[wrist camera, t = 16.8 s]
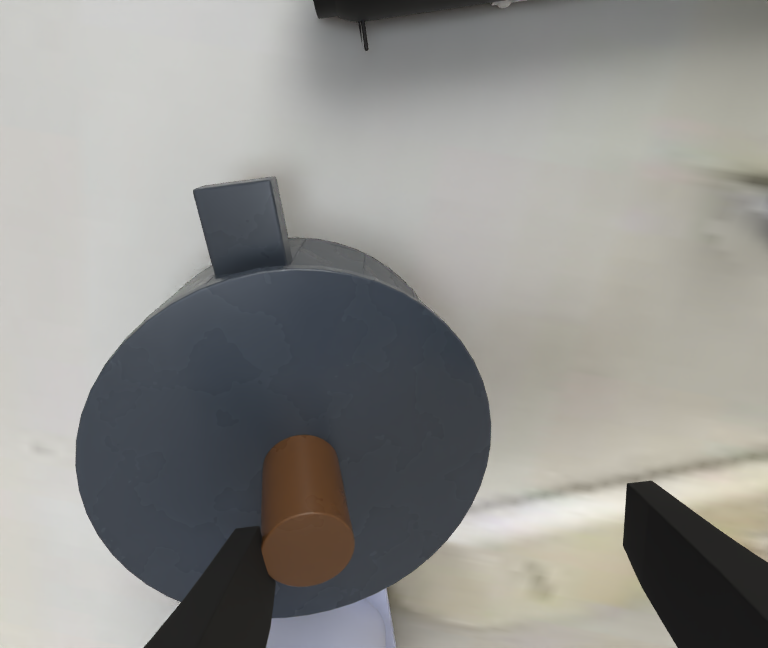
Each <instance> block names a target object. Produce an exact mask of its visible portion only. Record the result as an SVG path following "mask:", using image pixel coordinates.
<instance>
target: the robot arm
mask: <svg viewBox="0 0 768 648" xmlns="http://www.w3.org/2000/svg"><path fill="white" fill-rule="evenodd" d="M261 543H262V535H261V531H260V528H259V526H253V527H244V528H236V529H235V530H234V531H233V532H232V534H231V535H230V537H229V538H228V539H227V541H226V542H225V543H224V545H223V546H222V548H221V549H220V550H219V552H218V553H217V555H216V556H215V557H214V559H213V560H212V562H211V563H210V564H209V566H208V567H207V568H206V570H205V571H204V573H203V574H202V575H201V577H200V578H199V579H198V581H197V582H196V583H195V585H194V586H193V587H192V589H191V590H190V591H189V593H188V594H187V595H186V597H185V598H184V599H183V600H182V602H181V603H180V604H179V606H178V607H177V608H176V609H175V611H174V612H173V613H172V614H171V615H170V617H169V618H168V619H167V620H166V622H165V623H164V624H163V625H162V626H161V628H160V629H159V630H158V631H157V632H156V634H155V635H154V636H153V637H152V638H151V640H150V641H149V642H148V643H147V644H146V645H145V646H144V648H397V647H396V641H395V635H394V629H393V623H392V617H391V611H390V605H389V600H388V594H387V588H385V589H383V590H382V591H380V592H378V593H376V594H374V595H372V596H369V597H367V598H365V599H362V600H360V601H357V602H355V603H352V604H349V605H346V606H343V607H340V608H337V609H333V610H330V611H325V612H321V613H316V614H311V615H305V616H297V617H289V618H272V613H273V605H274V596H275V586H276V583H275V580H274V579H273V578H272V577H270V576H269V575H268V572H267V569H266V565H265V562H264V558H263V555H262V551H261ZM623 546H624V549H625V551H626V553H627V556H628V558H629V560H630V562H631V565H632V567H633V569H634V571H635V574H636V576H637V578H638V580H639V582H640V584H641V586H642V588H643V590H644V592H645V593H646V595H647V597H648V598H649V600H650V602H651V604H652V605H653V607H654V609H655V610H656V612H657V614H658V615H659V617H660V619H661V621H662V622H663V624H664V626H665V627H666V629H667V631H668V632H669V634H670V636H671V637H672V639H673V641H674V642H675V644H676V646H677V647H678V648H768V562H766V561H765V560H763V559H761V558H760V557H758V556H757V555H755V554H754V553H752V552H751V551H749V550H748V549H746V548H745V547H743V546H742V545H740V544H739V543H737V542H736V541H734V540H733V539H732V538H730V537H729V536H727V535H726V534H724V533H723V532H721V531H720V530H719V529H717V528H716V527H714V526H713V525H712V524H710V523H709V522H707V521H706V520H705V519H703V518H702V517H701V516H699V515H698V514H696V513H695V512H694V511H692V510H691V509H690V508H688V507H687V506H686V505H684V504H683V503H681V502H680V501H679V500H677V499H676V498H675V497H673V496H672V495H671V494H669V493H668V492H667V491H665V490H664V489H662V488H661V487H660V486H658V485H657V484H656V483H654V482H653V481H645V482H636V483H627V491H626V506H625V522H624V537H623Z"/></svg>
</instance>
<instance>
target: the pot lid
mask: <svg viewBox="0 0 768 648" xmlns="http://www.w3.org/2000/svg"><path fill="white" fill-rule="evenodd" d="M490 440H491V419H490V410H489V402H488V398H487V394H486V391H485V387H484V383H483V380H482V378H481V376H480V373H479V371H478V369H477V367H476V364H475V362H474V360H473V359H472V357H471V355H470V354H469V352H468V351H467V349H466V348H465V346H464V345H463V343H462V341H461V340H460V339H459V338H458V337H457V336H456V335H455V333H454V332H453V331H452V330H451V329H450V328H449V327H448V325H447V324H446V323H445V322H444V321H443V320H442V319H441V318H440V317H439V316H437V315H436V314H435V313H434V312H433V311H432V310H430V309H429V308H428V307H427V306H426V305H425V304H423V303H422V302H420V301H419V300H417V299H416V298H414V297H412V296H411V295H409V294H408V293H406V292H404V291H403V290H401V289H399V288H397V287H395V286H392V285H390V284H388V283H386V282H383V281H381V280H379V279H377V278H374V277H370V276H367V275H363V274H360V273H357V272H353V271H350V270H344V269H338V268H331V267H325V266H311V265H284V266H274V267H263V268H257V269H253V270H248V271H244V272H239V273H235V274H231V275H228V276H225V277H222V278H219V279H217V280H214V281H211V282H208V283H206V284H203V285H200V286H198V287H196V288H194V289H192V290H191V291H189V292H187V293H185V294H183V295H181V296H179V297H177V298H175V299H173V300H172V301H170V302H169V303H168V304H166V305H165V306H163V307H162V308H160V309H159V310H158V311H156V312H155V313H153V314H152V315H150V316H149V317H148V318H147V319H146V320H145V321H144V322H142V323H141V324H140V325H139V326H138V327H137V328H136V329H135V330H134V331H133V332H132V333H131V334H130V335H129V336H127V337H126V339H125V340H124V341H123V342H122V344H121V345H120V346H119V347H118V349H117V350H116V351H115V353H114V354H113V355H112V356H111V358H110V359H109V360H108V361H107V363H106V364H105V366H104V367H103V369H102V371H101V373H100V374H99V376H98V378H97V380H96V381H95V383H94V385H93V387H92V388H91V390H90V393H89V396H88V398H87V401H86V403H85V406H84V409H83V411H82V414H81V418H80V423H79V428H78V433H77V439H76V465H75V466H76V473H77V479H78V486H79V492H80V495H81V498H82V501H83V504H84V507H85V510H86V513H87V515H88V517H89V519H90V521H91V523H92V525H93V527H94V529H95V531H96V532H97V534H98V536H99V537H100V539H101V540H102V541H103V543H104V544H105V545H106V547H107V548H108V549H109V551H110V552H111V553H112V555H113V556H114V557H115V558H116V559H117V560H118V561H119V562H120V563H121V564H122V565H123V566H124V567H125V568H126V569H127V570H128V571H130V572H131V573H132V574H134V575H135V576H136V577H138V578H139V579H140V580H142V581H143V582H144V583H146V584H147V585H149V586H150V587H152V588H154V589H156V590H157V591H159V592H161V593H163V594H164V595H166V596H168V597H170V598H173V599H175V600H177V601H180V602H182V600H183V599H184V598H185V597H186V595H187V594H188V593H189V591H190V590H191V589H192V587H193V586H194V585H195V583H196V582H197V581H198V579H199V578H200V577H201V575H202V574H203V573H204V571H205V570H206V568H207V567H208V566H209V564H210V563H211V562H212V560H213V559H214V557H215V556H216V555H217V553H218V552H219V550H220V549H221V548H222V546H223V545H224V543H225V542H226V541H227V539H228V538H229V537H230V535H231V534H232V532H233V531H234V530H235V529H236V528H244V527H253V526H259V528H260V531H261V535H262V543H261V551H262V555H263V558H264V562H265V565H266V569H267V572H268V575H269V576H270V577H272V578H273V579H274V580H275V583H276V586H275V596H274V605H273V613H272V618H289V617H297V616H305V615H311V614H316V613H321V612H325V611H330V610H333V609H337V608H340V607H343V606H346V605H349V604H352V603H355V602H357V601H360V600H362V599H365V598H367V597H369V596H372V595H374V594H376V593H378V592H380V591H382V590H383V589H385V588H387V587H389V586H391V585H393V584H395V583H396V582H398V581H399V580H401V579H402V578H404V577H405V576H407V575H408V574H410V573H411V572H413V571H414V570H415V569H417V568H418V567H419V566H420V565H421V564H423V563H424V562H425V561H426V560H427V559H429V558H430V557H431V556H432V555H433V554H434V553H435V552H436V551H437V550H438V549H439V548H440V547H441V546H442V545H443V544H444V543H445V542H446V541H447V540H448V538H449V537H450V536H451V534H452V533H453V532H454V531H455V529H456V528H457V527H458V526H459V524H460V523H461V521H462V520H463V518H464V516H465V515H466V513H467V512H468V510H469V508H470V507H471V505H472V503H473V501H474V499H475V496H476V494H477V492H478V490H479V488H480V486H481V482H482V479H483V476H484V473H485V470H486V467H487V461H488V456H489V450H490Z"/></svg>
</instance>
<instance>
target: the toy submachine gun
mask: <svg viewBox="0 0 768 648" xmlns="http://www.w3.org/2000/svg"><path fill="white" fill-rule="evenodd" d="M313 1H314V5H315V9H316V13H317V16H318V18H319V19H320V18H327V17H333V16H338V17H340V18H342V19H345V20H348V21H353V22H358V23H359V29H360V35H361V25H362V33H363V41H364V48H365V51H368V42H367V34H366V26H365V21H370V20H376V19H383V18H390V17H397V16H403V15H410V14H417V13H424V12H430V11H437V10H444V9H451V8H457V7H464V6H471V5H478V4H485V3H491V5H497V6H498V7H500V8H506V7H508V6H509V5H510V4H511V3H512V2H518V1H525V0H313ZM360 22H361V25H360ZM361 41H362V36H361Z"/></svg>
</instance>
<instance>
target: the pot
mask: <svg viewBox="0 0 768 648" xmlns="http://www.w3.org/2000/svg"><path fill="white" fill-rule="evenodd" d="M193 194H194V198H195V201H196V205H197V209H198V213H199V217H200V221H201V224H202V228H203V232H204V236H205V240H206V244H207V247H208V251H209V255H210V259H211V263H212V266H211V267H209V268H207V269H206V270H204V271H202V272H201V273H199V274H197V275H196V276H195V277H194V278H193V279H192V280H190V281H189V282H188V283H187V284H186V285H185V286H183V287H182V288H181V289H180V290H179V291H177V292H176V293H175V294H174V295H173V296H172V297H170V298H169V299H168V300H167V301H166V302H164V303H163V304H162V305H161V306H160V307H159V308H157V309H156V310H155V311H154V312H153V313H155V312H156V311H158V310H159V309H160V308H162V307H163V306H165V305H166V304H168V303H169V302H170V301H172V300H173V299H175V298H177V297H179V296H181V295H183V294H185V293H187V292H189V291H191V290H192V289H194V288H196V287H198V286H200V285H203V284H206V283H208V282H211V281H214V280H217V279H219V278H222V277H225V276H228V275H231V274H235V273H239V272H244V271H248V270H253V269H257V268H263V267H274V266H284V265H311V266H325V267H331V268H338V269H344V270H350V271H353V272H357V273H360V274H363V275H367V276H370V277H374V278H377V279H379V280H381V281H383V282H386V283H388V284H390V285H392V286H395V287H397V288H399V289H401V290H403V291H404V292H406V293H408V294H409V295H411V296H412V297H414V298H416V299H417V300H419V299H418V297H417V296H416V294H415V292H414V290H413V289H412V288H411V287H409V286H408V285H407V284H406V283H405V282H404V281H403V280H402V279H401V278H400V277H399V276H398V275H397V274H395V273H394V272H393V271H392V270H391V269H390V268H388V267H387V266H385V265H384V264H382V263H381V262H379V261H378V260H376V259H374V258H373V257H371V256H369V255H367V254H365V253H363V252H360V251H358V250H356V249H354V248H351V247H348V246H345V245H342V244H339V243H335V242H330V241H325V240H320V239H310V238H288V234H287V229H286V224H285V219H284V214H283V209H282V204H281V199H280V194H279V189H278V184H277V179H276V177H266V178H258V179H251V180H243V181H236V182H228V183H221V184H213V185H205V186H202V187H199V188H196V189H194V190H193ZM419 301H420V300H419ZM153 313H152V314H153ZM152 314H150V315H152ZM150 315H149V316H150ZM149 316H148V317H149ZM148 317H147V318H148ZM147 318H146V319H147ZM146 319H145V320H146ZM145 320H144V321H145ZM144 321H143V322H144Z"/></svg>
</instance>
